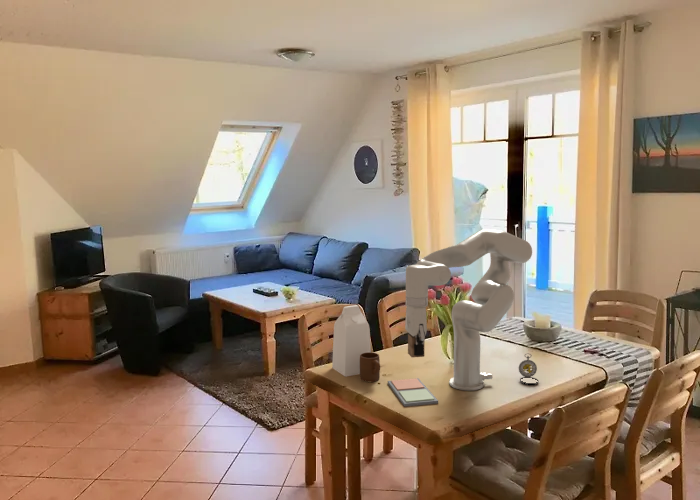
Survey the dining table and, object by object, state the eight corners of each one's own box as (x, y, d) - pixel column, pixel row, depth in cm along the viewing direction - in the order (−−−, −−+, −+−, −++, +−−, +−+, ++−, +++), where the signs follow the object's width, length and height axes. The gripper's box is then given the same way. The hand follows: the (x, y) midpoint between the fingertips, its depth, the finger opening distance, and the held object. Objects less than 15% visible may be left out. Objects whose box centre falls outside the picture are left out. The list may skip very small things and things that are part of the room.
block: (420, 352, 206) (420, 333, 205) (424, 356, 202) (424, 336, 201) (407, 353, 205) (407, 333, 204) (411, 357, 201) (411, 337, 200)
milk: (358, 363, 244) (357, 301, 240) (372, 371, 234) (371, 307, 230) (332, 367, 239) (331, 305, 235) (345, 376, 229) (344, 311, 225)
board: (418, 380, 223) (418, 377, 223) (438, 403, 202) (438, 399, 202) (387, 383, 221) (387, 379, 221) (404, 406, 199) (404, 402, 199)
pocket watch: (528, 387, 215) (529, 360, 214) (512, 379, 223) (513, 354, 221) (545, 383, 219) (546, 357, 218) (529, 376, 227) (529, 350, 225)
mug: (388, 384, 220) (388, 360, 218) (369, 387, 217) (369, 363, 215) (374, 374, 231) (374, 351, 229) (356, 377, 228) (356, 353, 226)
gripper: (399, 296, 208) (399, 346, 211) (413, 307, 192) (413, 361, 195) (419, 295, 210) (419, 345, 212) (435, 306, 194) (434, 359, 196)
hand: (416, 352), depth 204 cm, fingers closed on block, 4 cm apart
